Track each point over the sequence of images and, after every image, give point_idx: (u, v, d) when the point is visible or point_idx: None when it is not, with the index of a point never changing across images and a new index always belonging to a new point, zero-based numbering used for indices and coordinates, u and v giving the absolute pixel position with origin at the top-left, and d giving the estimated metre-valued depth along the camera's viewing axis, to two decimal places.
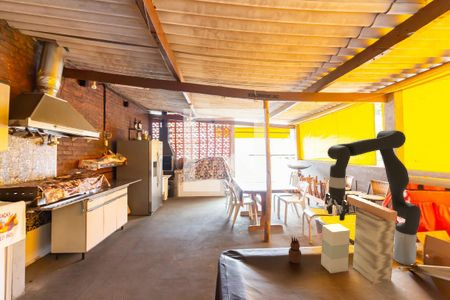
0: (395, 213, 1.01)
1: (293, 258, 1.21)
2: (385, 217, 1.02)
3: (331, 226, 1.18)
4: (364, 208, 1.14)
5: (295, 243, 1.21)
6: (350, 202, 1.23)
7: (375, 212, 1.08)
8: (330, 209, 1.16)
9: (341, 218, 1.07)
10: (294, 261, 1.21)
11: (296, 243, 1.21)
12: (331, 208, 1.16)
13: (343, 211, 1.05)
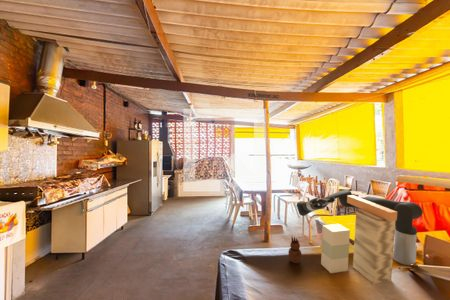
0: (395, 213, 1.01)
1: (293, 258, 1.21)
2: (385, 217, 1.02)
3: (331, 226, 1.18)
4: (364, 208, 1.14)
5: (295, 243, 1.21)
6: (350, 202, 1.23)
7: (375, 212, 1.08)
8: None
9: None
10: (294, 261, 1.21)
11: (296, 243, 1.21)
12: None
13: None
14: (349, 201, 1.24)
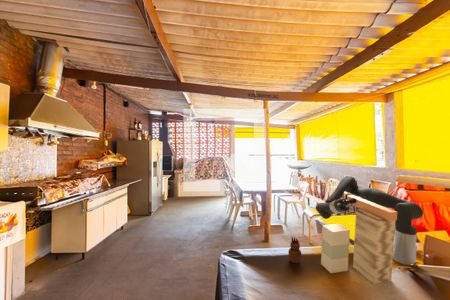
0: (395, 213, 1.01)
1: (293, 258, 1.21)
2: (385, 217, 1.02)
3: (331, 226, 1.18)
4: (364, 208, 1.14)
5: (295, 243, 1.21)
6: None
7: (375, 212, 1.08)
8: None
9: None
10: (294, 261, 1.21)
11: (296, 243, 1.21)
12: None
13: None
14: None
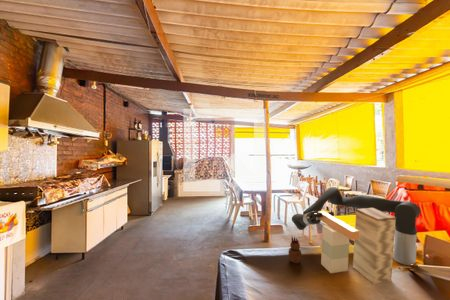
0: (357, 232, 1.04)
1: (293, 258, 1.21)
2: (348, 236, 1.05)
3: None
4: (331, 225, 1.17)
5: (295, 243, 1.21)
6: (320, 218, 1.26)
7: (340, 230, 1.11)
8: None
9: None
10: (294, 261, 1.21)
11: (296, 243, 1.21)
12: None
13: None
14: None
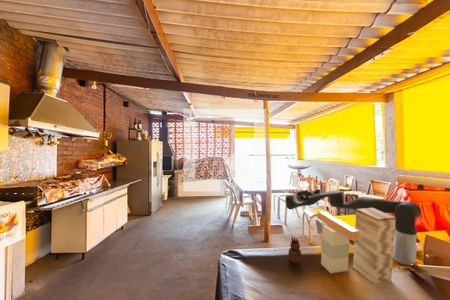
0: (357, 232, 1.04)
1: (293, 258, 1.21)
2: (348, 236, 1.05)
3: None
4: (331, 225, 1.17)
5: (295, 243, 1.21)
6: (320, 218, 1.26)
7: (340, 230, 1.11)
8: None
9: None
10: (294, 261, 1.21)
11: (296, 243, 1.21)
12: None
13: None
14: (319, 217, 1.27)
